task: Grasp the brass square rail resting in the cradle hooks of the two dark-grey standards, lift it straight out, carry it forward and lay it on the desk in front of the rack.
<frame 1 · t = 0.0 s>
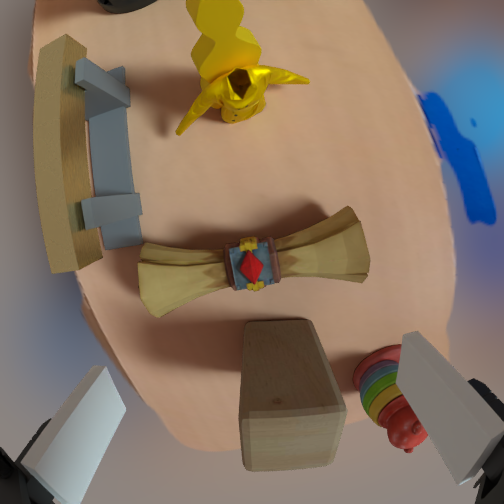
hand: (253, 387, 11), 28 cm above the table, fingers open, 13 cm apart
wooden block: (278, 346, 42), on the table
rail: (72, 147, 25), point 10 cm above the table, touching rack
scroll: (252, 253, 39), on the table
figure statuette: (238, 99, 34), on the table
rack: (111, 154, 35), on the table
stacking bear: (377, 370, 43), on the table
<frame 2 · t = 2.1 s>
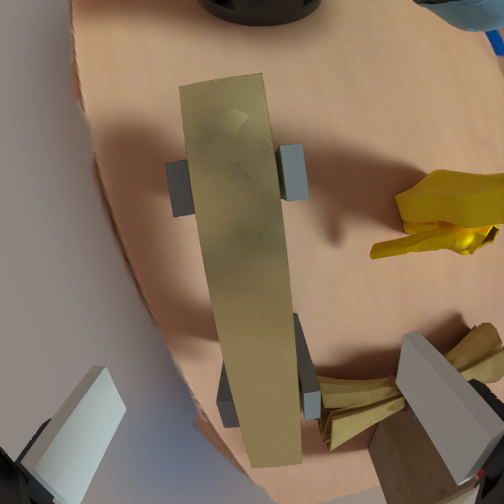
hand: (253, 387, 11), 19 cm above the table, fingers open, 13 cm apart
wooden block: (398, 426, 36), on the table
rail: (256, 299, 19), point 10 cm above the table, touching rack
scroll: (402, 364, 33), on the table
figure statuette: (418, 203, 28), on the table
rack: (255, 260, 29), on the table
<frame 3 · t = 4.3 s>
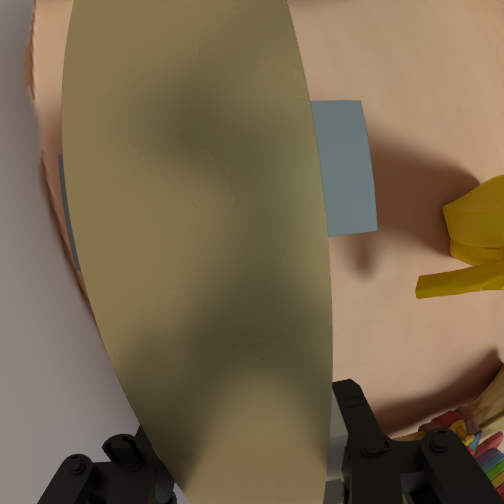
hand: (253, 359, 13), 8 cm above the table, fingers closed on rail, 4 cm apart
rail: (253, 391, 10), point 10 cm above the table, touching gripper, rack
scroll: (428, 410, 24), on the table
figure statuette: (466, 217, 19), on the table
rack: (253, 299, 20), on the table
stacking bear: (476, 454, 28), on the table
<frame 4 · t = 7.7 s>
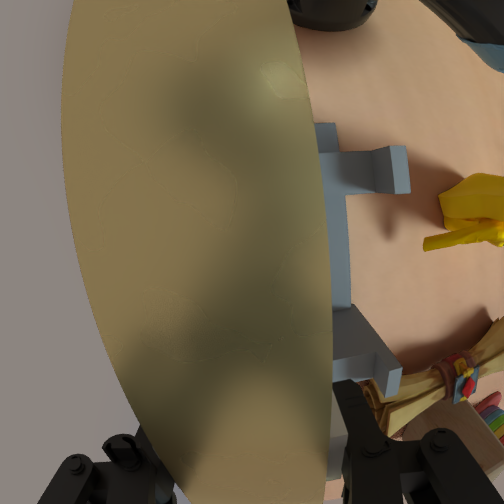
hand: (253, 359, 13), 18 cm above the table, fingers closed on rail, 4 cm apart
wooden block: (429, 413, 36), on the table
rail: (253, 392, 10), point 20 cm above the table, touching gripper
scroll: (436, 357, 33), on the table
figure statuette: (455, 202, 28), on the table
rack: (320, 253, 30), on the table
stacking bear: (478, 412, 37), on the table
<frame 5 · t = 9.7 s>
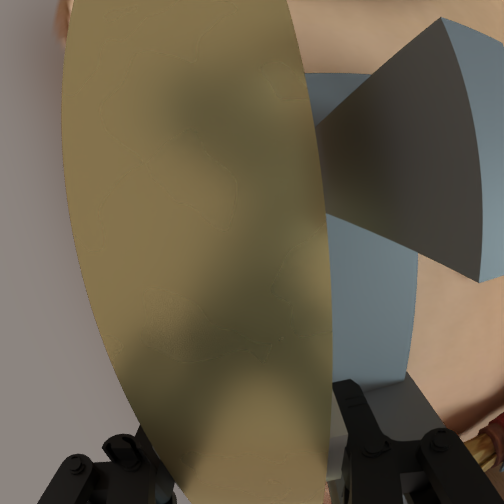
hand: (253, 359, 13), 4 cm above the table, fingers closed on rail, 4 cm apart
wooden block: (461, 463, 23), on the table
rail: (253, 392, 10), point 6 cm above the table, touching gripper
scroll: (484, 412, 20), on the table
rack: (367, 303, 16), on the table
when the fingers open (1 cm above the table, at t = 11.1 s): rail drops 4 cm, on the table.
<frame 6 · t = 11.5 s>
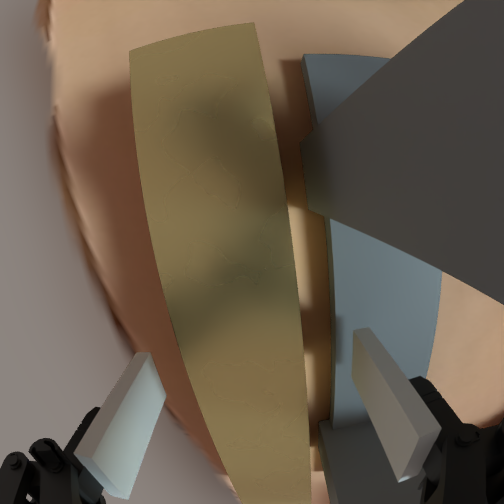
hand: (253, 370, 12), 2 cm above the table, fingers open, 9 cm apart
rail: (254, 344, 14), on the table
rack: (383, 325, 14), on the table
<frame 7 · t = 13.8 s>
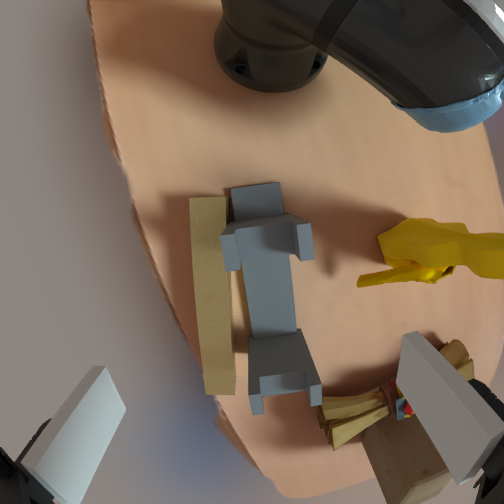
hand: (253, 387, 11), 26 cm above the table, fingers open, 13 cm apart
wooden block: (387, 421, 43), on the table
rail: (217, 295, 38), on the table
scroll: (387, 378, 41), on the table
figure statuette: (397, 240, 36), on the table
rack: (269, 289, 37), on the table
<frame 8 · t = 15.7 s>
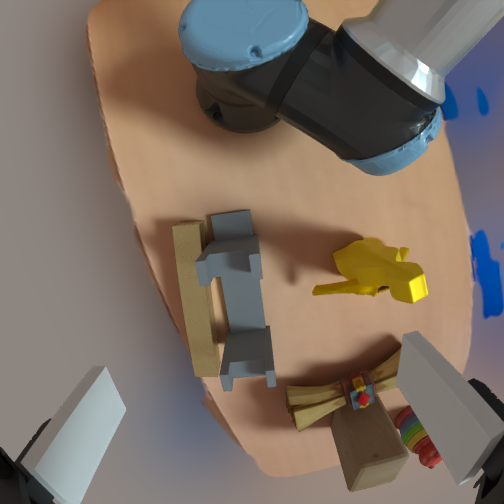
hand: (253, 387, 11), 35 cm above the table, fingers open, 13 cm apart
wooden block: (353, 409, 53), on the table
rail: (201, 298, 47), on the table
scroll: (350, 372, 51), on the table
figure statuette: (352, 255, 45), on the table
rack: (242, 294, 47), on the table
stacking bear: (410, 415, 55), on the table
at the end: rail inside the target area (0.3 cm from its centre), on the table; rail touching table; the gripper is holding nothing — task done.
